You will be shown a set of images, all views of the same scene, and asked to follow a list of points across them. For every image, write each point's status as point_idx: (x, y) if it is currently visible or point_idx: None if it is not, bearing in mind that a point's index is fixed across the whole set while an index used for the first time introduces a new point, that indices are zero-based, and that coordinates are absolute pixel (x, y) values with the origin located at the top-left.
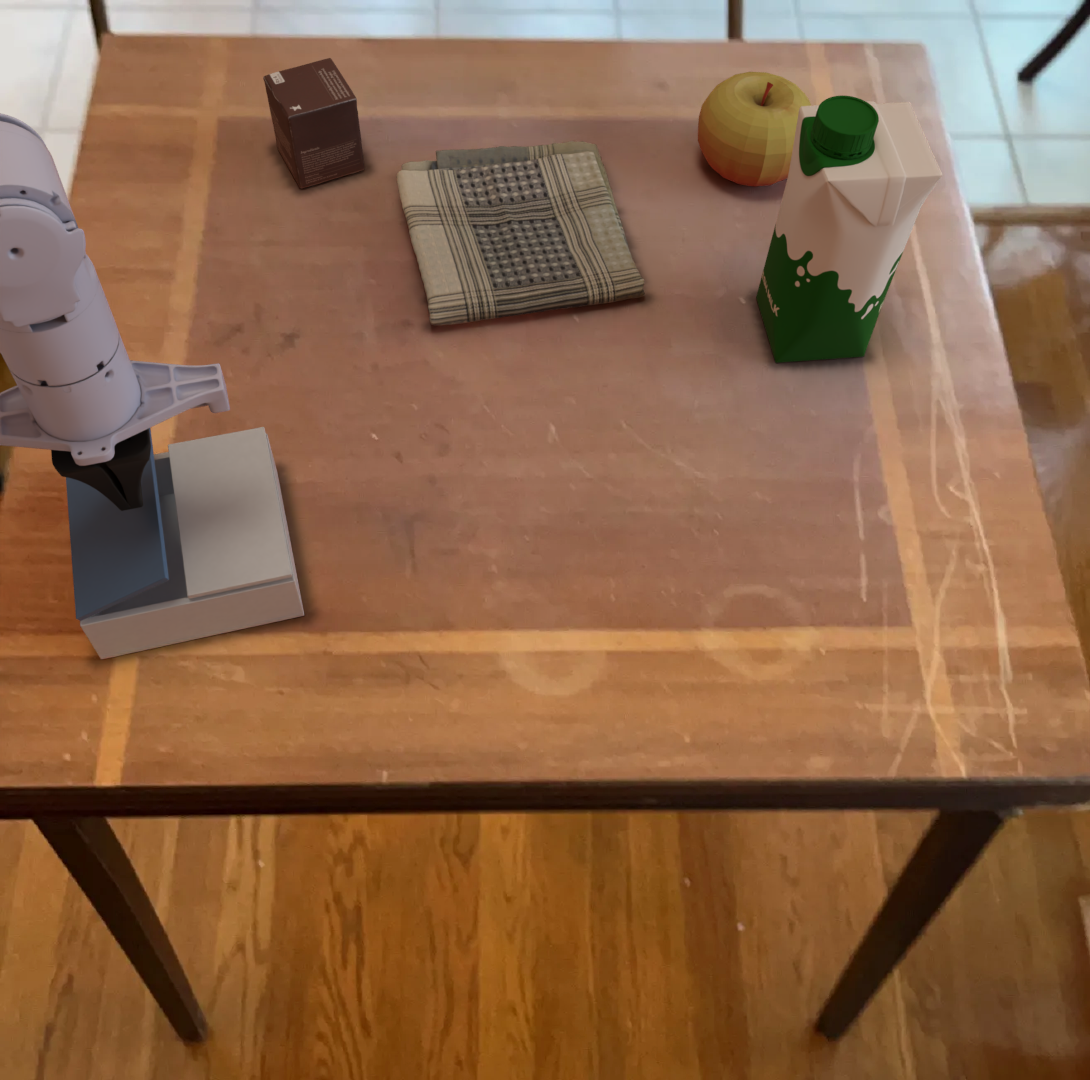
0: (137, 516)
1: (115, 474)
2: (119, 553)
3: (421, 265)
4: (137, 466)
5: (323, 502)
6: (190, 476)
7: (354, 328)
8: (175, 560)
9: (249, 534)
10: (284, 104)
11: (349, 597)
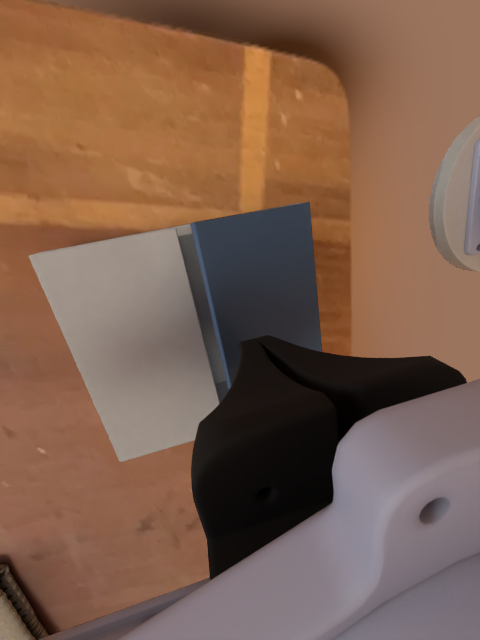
0: (247, 333)
1: (287, 377)
2: (265, 282)
3: (14, 626)
4: (236, 400)
5: (80, 379)
6: (196, 395)
7: (88, 544)
8: None
9: (107, 320)
10: None
11: (24, 269)
